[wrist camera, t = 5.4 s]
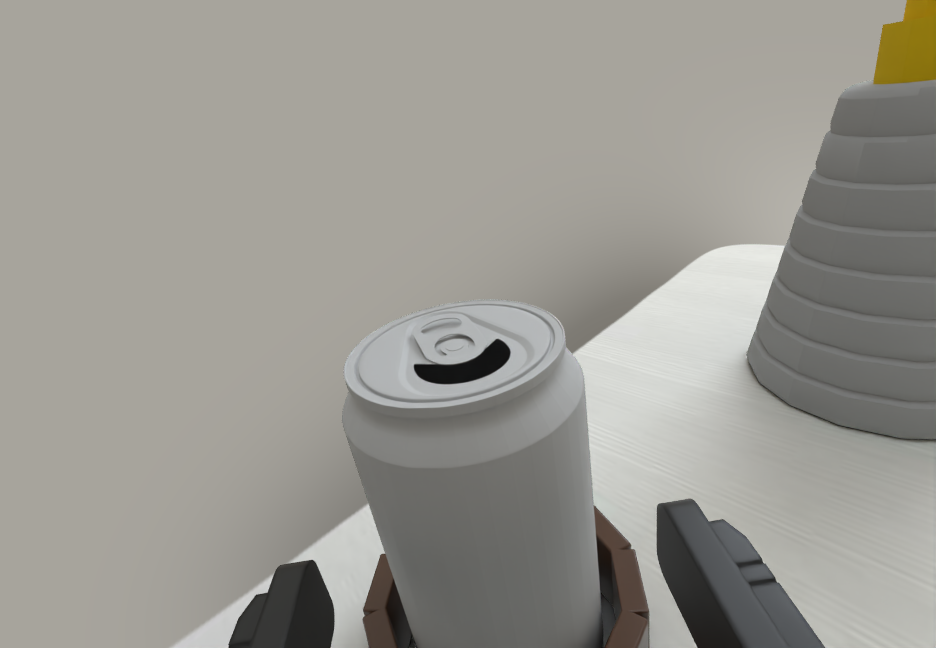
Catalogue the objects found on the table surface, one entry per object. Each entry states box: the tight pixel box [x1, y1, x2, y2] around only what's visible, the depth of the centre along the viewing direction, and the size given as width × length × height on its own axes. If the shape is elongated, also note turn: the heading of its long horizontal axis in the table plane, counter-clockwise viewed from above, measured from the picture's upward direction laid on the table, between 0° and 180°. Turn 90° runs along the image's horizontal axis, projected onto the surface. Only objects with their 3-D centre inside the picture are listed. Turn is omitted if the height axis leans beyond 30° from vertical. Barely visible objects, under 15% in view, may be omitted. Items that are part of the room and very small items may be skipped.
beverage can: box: [342, 300, 603, 648], centre depth 15 cm, size 6×6×12 cm
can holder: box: [363, 506, 649, 648], centre depth 17 cm, size 9×9×3 cm
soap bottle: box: [747, 0, 936, 440], centre depth 23 cm, size 12×12×20 cm
